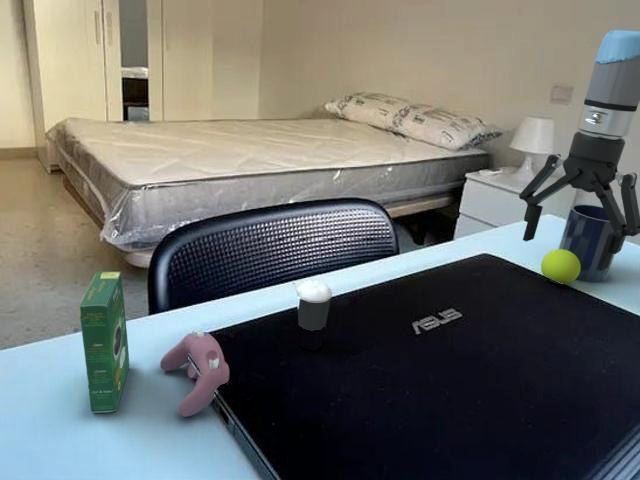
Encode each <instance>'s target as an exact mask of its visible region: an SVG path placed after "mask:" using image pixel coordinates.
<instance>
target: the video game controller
mask: <svg viewBox="0 0 640 480" xmlns="http://www.w3.org/2000/svg"><path fill="white" fill-rule="evenodd" d="M188 353H191V355H192V358H193V360H194V362H195V363H196V365H197V366H198V368H199V370H200V375H201V377H200V376H197V373H196V370H195V369H194V367H193V366H192V365H191V363H190V361H188ZM159 363H160V365H159V367H160V369H161V370H162V371H164V372H171V371H174V370H177V369H178V368H180V367H182V366H184V365H186V364H187V363H188V366H187V376H188V378H190V379H196V381H195V386H194V388H193V389H192V390H191V391H190V392H189V393H188V394H187V395H186V396H185V397H184V398H183V399H182V401H181V403H180V404H179V406H178V414H179V415H180V416H182V417H184V418H187V417H191V416H194V415H197V414H198V413H199V412H201V411H202V410H204V409H205V408H207V407H208V406H209V405H210V404H211V403H212V402H213V401H214V400H215V398H214V392H215V390H216V389H217V388H218V387H219V386H220V385H222V384H225V383H227V382H228V383H229V380H230V368H229V367H230V366H229V364H228V363H227V362H226V361H225V357H224V354H223V350H222V347H221V346H220V344H219V342H218V341H217V340H216V339H215V337H214V336H212V335H211V334H210V333H208V332H206V331H199V330H198V331H197V332H196V331H194V330H193V331H192V332H191V333H187V334H186V335H185V336H184V337H183V338H182V339H181V340H180V341H179V342H178V343H177V344H176V345H174V346H173V347H172V348H171V349H169V350H168V351H167V353H165V354H164V355H163V357H162V358H161V360H160V362H159ZM228 383H227V384H228ZM213 399H214V400H213Z"/></svg>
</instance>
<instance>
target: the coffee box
mask: <svg viewBox="0 0 640 480" xmlns="http://www.w3.org/2000/svg"><path fill="white" fill-rule="evenodd" d="M78 314H79V320H80V328H81V336H82V343H83V353H84V360H85V361H84V362H85V367H86V376H87V387H88V395H89V402H90V411H91V413H93V414H99V413H100V414H102V413H113V412H115V411H118V409H119V404H120V402H121V399H122V394H123V390H124V386H125V383H126V380H127V376H128V373H129V369H130V352H129V342H128V330H127V320H126V310H125V298H124V289H123V277H122V271H120V270H118V271H117V270H116V271H115V270H113V271H112V270H109V271H107V270H106V271H103V270H101V271H96V272H95V275H94V276H93V279H92V281H91V282H90V284H89V286H88V288H87V290H86V291H85V293H84V295H83V296H82V299H81V301H80V303H79V305H78Z"/></svg>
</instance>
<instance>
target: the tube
mask: <svg viewBox="0 0 640 480" xmlns="http://www.w3.org/2000/svg"><path fill="white" fill-rule="evenodd" d="M622 215H623V218H624V220H625V222H626V219H625V214H623V213H622ZM612 232H614V230H613V228H612V226H611V224H610V221H609V219H608V217H607V215H606V213H605V210H604V208H603V206H600V205H594V204H586V203H577V204H573V205H571V206H570V208H569V211H568V214H567V217H566V221H565V224H564V228H563V231H562V233H561V234H562V235H561V238H560V241H559V244H558V248H557V249H563V250H567V251H570V252H572V253H573V254H574V255H575V256H576V257H577V258H578V260H579V262H580V273H579V275H578V277H577V278H576V279H575V280H579V281H584V282H589V283H600V282H604V281H606V280H607V278H608V276H609V273H610V270H611V267H612V265H613V262H614V259H615V256H616V254H612V257H611V260H610V263H609V265H608V268H606V269H604V270H602V271H599V270H597V266H598V263H599V260H600V257H601V255H602V252H603V249H604V246H605V243H606V240H607V237H608V235H609V233H612Z"/></svg>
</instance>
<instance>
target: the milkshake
mask: <svg viewBox="0 0 640 480" xmlns="http://www.w3.org/2000/svg"><path fill="white" fill-rule="evenodd" d="M291 281H292V283H293V287H294V288H295V291H296V303H297V305H296V307H297V317H298V318H297V326H298V325H299V326H300V327H302V328H303V329H306V330H310V331H314V330H321V329H322V328H323V327H325V328H326V325H327V320H328V316H329V311H330V306H331V301H332V296H333V291H332V290H331V288H330V286H329V285H328V284H326V283H324V282H322V281H320V280H312V279H308V280H305V281H304V282H302V284H300V285H299V286H298V287H296V285H295V282H294V280H291Z"/></svg>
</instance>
